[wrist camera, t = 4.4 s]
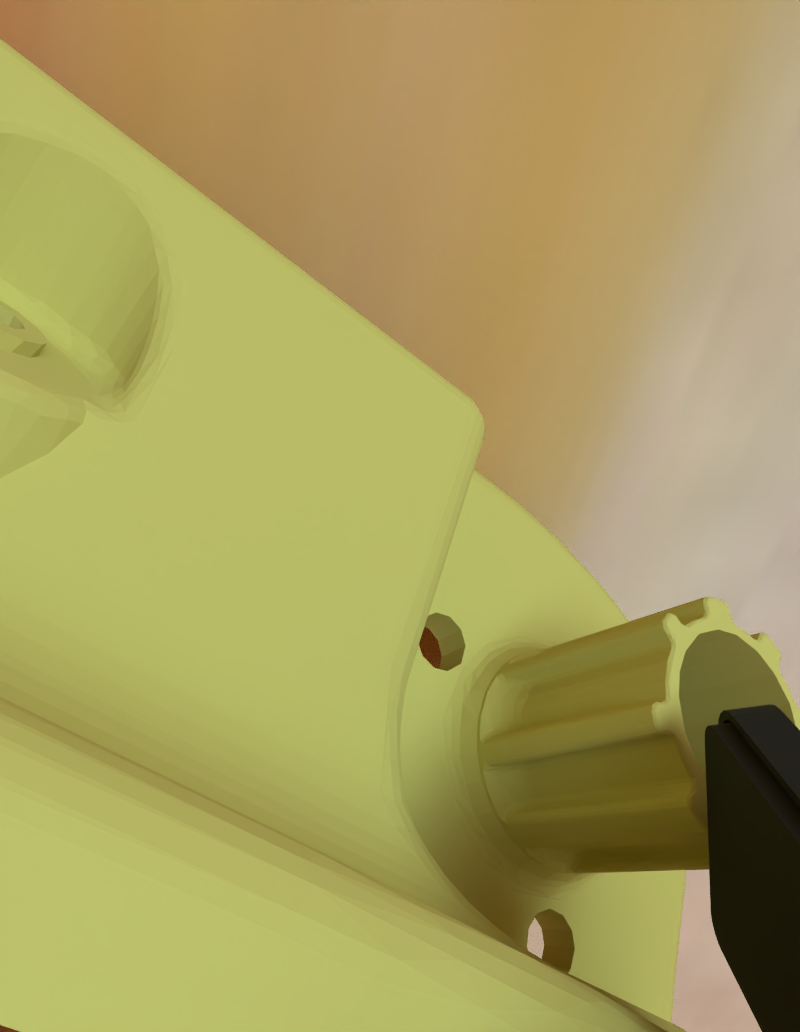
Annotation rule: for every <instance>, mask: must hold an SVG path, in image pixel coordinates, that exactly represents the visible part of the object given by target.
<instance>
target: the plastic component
mask: <svg viewBox="0 0 800 1032" xmlns="http://www.w3.org/2000/svg"><path fill="white" fill-rule="evenodd" d="M484 432H485V427H484V420H483V417H482V415H481V412H480V410H479V409H478V407H477V406H476V404H475V403H474V401H473V400H472V399H470V398H469V397H468V396H467V395H465V394H464V393H463V392H461V391H460V390H459V389H457V388H456V387H455V386H453V385H452V384H451V383H450V382H448V381H447V380H446V379H444V378H443V377H442V376H440V375H439V374H438V373H436V372H435V371H434V370H433V369H431V368H430V367H429V366H427V365H426V364H425V363H423V362H422V361H421V360H419V359H418V358H417V357H416V356H414V355H413V354H412V353H410V352H409V351H408V350H406V349H405V348H404V347H402V346H401V345H400V344H399V343H397V342H396V341H395V340H393V339H392V338H391V337H389V336H388V335H387V334H385V333H384V332H383V331H382V330H380V329H379V328H378V327H376V326H375V325H374V324H372V323H371V322H370V321H368V320H367V319H366V318H365V317H363V316H362V315H361V314H359V313H358V312H357V311H355V310H354V309H353V308H351V307H350V306H349V305H348V304H346V303H345V302H344V301H342V300H341V299H340V298H338V297H337V296H336V295H334V294H333V293H332V292H331V291H329V290H328V289H327V288H325V287H324V286H323V285H321V284H320V283H319V282H317V281H316V280H315V279H314V278H312V277H311V276H310V275H308V274H307V273H306V272H304V271H303V270H302V269H300V268H299V267H298V266H297V265H295V264H294V263H293V262H291V261H290V260H289V259H287V258H286V257H285V256H283V255H282V254H281V253H280V252H278V251H277V250H276V249H274V248H273V247H272V246H270V245H269V244H268V243H266V242H265V241H264V240H263V239H261V238H260V237H259V236H257V235H256V234H255V233H253V232H252V231H251V230H249V229H248V228H247V227H246V226H244V225H243V224H242V223H240V222H239V221H238V220H236V219H235V218H234V217H232V216H231V215H230V214H229V213H227V212H226V211H225V210H223V209H222V208H221V207H219V206H218V205H217V204H215V203H214V202H213V201H212V200H210V199H209V198H208V197H206V196H205V195H204V194H202V193H201V192H200V191H199V190H197V189H196V188H195V187H193V186H192V185H191V184H189V183H188V182H187V181H185V180H184V179H183V178H182V177H180V176H179V175H178V174H176V173H175V172H174V171H172V170H171V169H170V168H168V167H167V166H166V165H165V164H163V163H162V162H161V161H159V160H158V159H157V158H155V157H154V156H153V155H151V154H150V153H149V152H148V151H146V150H145V149H144V148H142V147H141V146H140V145H138V144H137V143H136V142H134V141H133V140H132V139H131V138H129V137H128V136H127V135H125V134H124V133H123V132H121V131H120V130H119V129H117V128H116V127H115V126H114V125H112V124H111V123H110V122H108V121H107V120H106V119H104V118H103V117H102V116H100V115H99V114H98V113H97V112H95V111H94V110H93V109H91V108H90V107H89V106H87V105H86V104H85V103H83V102H82V101H81V100H80V99H78V98H77V97H76V96H74V95H73V94H72V93H70V92H69V91H68V90H66V89H65V88H64V87H63V86H61V85H60V84H59V83H57V82H56V81H55V80H53V79H52V78H51V77H49V76H48V75H47V74H46V73H44V72H43V71H42V70H40V69H39V68H38V67H36V66H35V65H34V64H32V63H31V62H30V61H29V60H27V59H26V58H25V57H23V56H22V55H21V54H19V53H18V52H17V51H15V50H14V49H13V48H12V47H10V46H9V45H8V44H6V43H5V42H4V41H2V40H1V39H0V1025H2V1026H5V1027H8V1028H11V1029H14V1030H17V1031H20V1032H686V1031H685V1030H684V1029H682V1028H680V1027H678V1026H676V1025H674V1024H672V1023H671V1020H672V1008H673V996H674V983H675V972H676V963H677V954H678V945H679V936H680V926H681V917H682V908H683V899H684V890H685V878H686V870H701V869H709V844H708V817H707V790H706V763H705V730H706V727H707V726H709V725H716V724H718V720H719V716H720V713H721V712H722V711H723V710H730V709H738V708H745V707H753V706H761V705H768V704H771V705H775V706H777V707H778V708H779V709H780V710H781V711H782V712H783V713H784V714H785V715H786V716H787V717H788V718H789V719H790V720H791V721H792V722H793V724H794V725H795V726H796V727H797V728H798V729H799V730H800V708H798V707H797V705H796V704H795V702H794V700H793V698H792V695H791V693H790V691H789V688H788V686H787V684H786V683H785V681H784V679H783V677H782V675H781V673H780V670H779V661H780V659H781V655H780V652H779V650H778V649H777V647H776V646H775V645H774V643H773V642H772V641H771V639H770V638H769V637H768V636H767V635H766V634H765V633H758V634H754V635H749V634H748V633H746V632H745V631H744V630H742V629H740V628H739V627H737V626H736V625H735V624H734V622H733V621H732V619H731V615H730V612H729V607H728V606H727V604H726V603H725V602H724V601H722V600H719V599H715V598H710V597H704V598H701V599H698V600H695V601H692V602H689V603H686V604H683V605H679V606H676V607H673V608H670V609H667V610H664V611H661V612H658V613H655V614H652V615H649V616H645V617H642V618H639V619H636V620H633V621H630V622H629V621H628V620H627V618H626V617H625V616H624V614H623V613H622V611H621V610H620V609H619V607H618V606H617V605H616V603H615V602H614V601H613V600H612V598H611V597H610V596H609V595H608V594H607V592H606V591H605V590H604V589H603V587H602V586H601V585H600V584H599V582H598V581H597V580H596V579H595V578H594V577H593V576H592V575H591V574H590V573H589V571H588V570H587V569H586V568H585V567H584V566H583V565H582V564H581V563H580V562H579V561H578V560H577V559H576V558H575V557H574V556H573V555H572V553H571V552H570V551H569V550H568V549H567V548H566V547H565V546H564V545H563V544H562V543H561V542H560V541H559V540H558V539H557V538H556V537H555V536H554V535H553V534H552V533H551V532H550V531H548V530H547V529H546V528H545V527H544V526H543V525H542V524H541V523H540V522H538V521H537V520H536V519H535V518H534V517H533V516H532V515H531V514H530V513H528V512H527V511H526V510H525V509H524V508H523V507H522V506H520V505H519V504H518V503H517V502H515V501H514V500H513V499H512V498H511V497H509V496H508V495H507V494H506V493H504V492H503V491H502V490H501V489H499V488H498V487H497V486H496V485H494V484H493V483H492V482H491V481H489V480H488V479H486V478H485V477H484V476H482V475H481V474H480V473H478V472H477V471H475V470H474V468H475V465H476V462H477V459H478V455H479V452H480V449H481V446H482V443H483V440H484ZM424 627H426V628H429V630H430V631H431V632H432V634H433V635H434V636H435V637H436V639H437V640H438V642H439V647H440V651H441V656H442V658H441V661H440V665H439V669H437V668H434V667H433V666H432V665H431V664H430V663H429V662H428V661H427V660H426V659H425V658H424V657H423V655H422V652H421V649H420V646H419V643H420V639H421V636H422V633H423V630H424ZM534 918H536V920H537V921H538V923H539V924H540V926H541V928H542V933H543V939H544V950H543V956H542V959H541V958H539V957H537V956H536V955H534V954H532V953H531V952H529V951H528V949H527V939H528V928H529V926H530V925H531V923H532V921H533V920H534Z"/></svg>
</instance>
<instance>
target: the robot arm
mask: <svg viewBox="0 0 800 1032" xmlns="http://www.w3.org/2000/svg"><path fill="white" fill-rule="evenodd" d="M705 763H706V790H707V817H708V844H709V872H710V899H711V916H712V922H713V927H714V931H715V934H716V937H717V940H718V943H719V946H720V948H721V950H722V952H723V954H724V956H725V958H726V960H727V962H728V964H729V966H730V968H731V970H732V972H733V974H734V976H735V978H736V980H737V982H738V984H739V986H740V988H741V990H742V992H743V994H744V996H745V998H746V1000H747V1002H748V1004H749V1006H750V1008H751V1010H752V1012H753V1014H754V1016H755V1018H756V1020H757V1022H758V1024H759V1026H760V1028H761V1030H762V1032H800V730H799V729H798V728H797V727H796V726H795V725H794V724H793V722H792V721H791V720H790V719H789V718H788V717H787V716H786V715H785V714H784V713H783V712H782V711H781V710H780V709H779V708H778V707H777V706H775V705H771V704H768V705H761V706H753V707H745V708H738V709H730V710H723V711H722V712H721V713H720V716H719V720H718V724H716V725H709V726H707V727H706V730H705Z"/></svg>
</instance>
